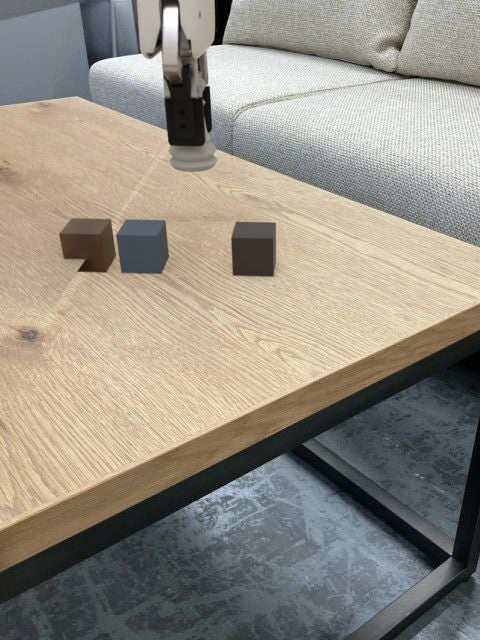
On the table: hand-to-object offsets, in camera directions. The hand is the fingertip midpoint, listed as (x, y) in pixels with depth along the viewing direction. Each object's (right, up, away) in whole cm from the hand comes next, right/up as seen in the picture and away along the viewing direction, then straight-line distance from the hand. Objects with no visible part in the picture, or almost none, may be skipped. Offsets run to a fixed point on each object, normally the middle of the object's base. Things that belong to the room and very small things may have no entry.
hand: (191, 136), depth 63 cm
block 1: (-11, -10, +8) cm, 17 cm away
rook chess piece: (0, -2, +2) cm, 3 cm away
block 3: (+5, -11, +7) cm, 14 cm away
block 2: (-6, -10, +7) cm, 14 cm away
